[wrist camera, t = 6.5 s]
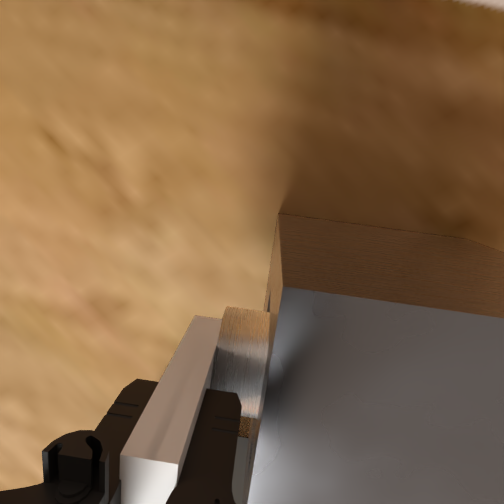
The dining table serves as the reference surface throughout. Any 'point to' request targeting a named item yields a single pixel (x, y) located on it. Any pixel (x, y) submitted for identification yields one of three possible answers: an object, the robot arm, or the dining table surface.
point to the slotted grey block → (379, 369)
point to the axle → (242, 356)
